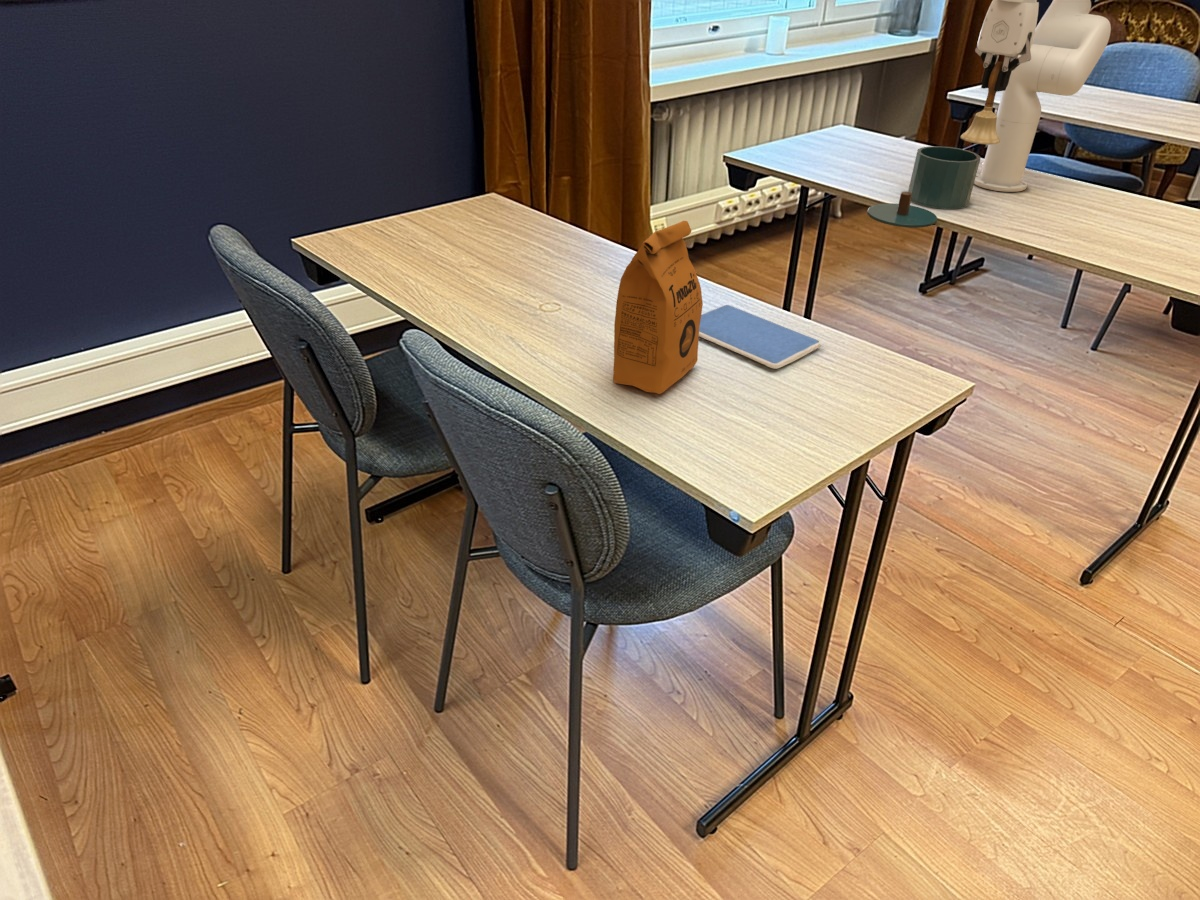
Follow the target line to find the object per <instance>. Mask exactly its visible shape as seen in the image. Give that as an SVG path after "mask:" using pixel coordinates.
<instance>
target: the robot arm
mask: <svg viewBox="0 0 1200 900" xmlns="http://www.w3.org/2000/svg"><path fill="white" fill-rule="evenodd" d="M1039 7H1040V2H1039V1H1038V0H992V1H991V3H990V5H989V7H988V9H987V12H986V14H985V17H984V20H983V23H982V26H981V28H980V32H979V36H978V40H977V44H976V47H975V49H974V52H975V53H976V54H977V55H978V56H979V57H980V58H981V61H982V63H983V64H982V65H983V68H984V71H983V75H982V79H981V86H980V88H981V89H984V90H985V89H988V82H989V77H990V74H991V72H992V70H993V68H994V66H995V65H996V62H997V61H999V57H1000V56H1004V58H1003V67H1002V71H999V73H998V77H997V81H996V84H995V88H994V90H995V91H997V92H996V93H999V92H1001V96H1000V100H999V104H998V108H997V111H996V115H997V121H996V132H997V135H998V137H999V138H1000V142H999V143H998V144H987V149H986V151H985V156H984V160H983V161H982V162H981V171H980V173H977V174H976V178H975V181H974V185H975V186H977V187H980V188H983V189H986V190H990V191H995V192H1005V193H1017V192H1022V191H1025V190H1026V189H1027V187H1028V182H1027V181H1026V180H1025V179H1023V177H1024V173H1025V170H1026V167H1027V164H1028V160H1029V156H1030V152H1031V150H1032V147H1033V143H1034V139H1035V136H1036V133H1037V130H1038V126H1039V123H1040V119H1041V115H1042V105H1041V101H1040V99H1039V96H1038V94H1037V93H1043V94H1048V95H1049V94H1050V95H1057V96H1066V97H1067V96H1069V97H1071V96H1074V95H1076V94H1077V93H1079V91H1080V90H1081V89H1082V87H1083V86H1084V85H1085V83H1086V82H1087V80H1088V78H1089V77H1090V75H1091V74H1092V71H1093V70H1094V68H1095V67H1096V65H1097V63H1098V62H1099V60H1100V58H1101V57H1102V55H1103V53H1104V52H1105V51H1106V48H1107V46H1108V43H1109V40H1110V37H1111V32H1112V26H1111V22H1110V20H1109V19H1108V18H1107V17H1105V16H1102V15H1098V14H1091V13H1090V12H1091V8H1092V1H1091V0H1052V2H1051V3H1050V5H1049V6H1048V8H1047V9H1046V11H1045V12H1044V14H1043V15H1042V17H1041V18H1040V20H1039V22H1038V17H1039ZM1037 22H1038V23H1037Z"/></svg>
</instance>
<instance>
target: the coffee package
mask: <svg viewBox="0 0 1200 900" xmlns="http://www.w3.org/2000/svg"><path fill="white" fill-rule="evenodd" d="M691 233H692V229H691V226H690V223H689V221H688V220H682V221H680V222H677V223H675V224H672V225H669V226H667V227H664V228H662V229H659V230H658V229H657V230H655V231H654V232H653V233H652V234H650V235H649V237H647V238H646V239H645V240H643V242H642V243H641V245H640V246H639V248H638V250H637V251H636V253H635V254H634V256H633V257H632V258H631V260H630V261H629V263H628V265H626V267H625V269H624V271H623V273H622V276H621V278H620V281H619V286H618V290H617V291H618V292H617V296H616V297H617V298H616V303H615V304H616V305H615V316H614V332H613V333H614V335H613V339H614V341H613V369H612V370H613V372H612V373H613V376H612V381H613V382H614V383H616V384H618V385H623V386H633V387H635V388H637V389H639V390H641V391H643V392H646V393H653V394H659V395H660V394H663V393H664V392H665V391H667V390H668V389H670V388H671V386H673V385H674V384H675V383H677V382H678V381H679V380H681V379H683V377H684V376H685V375H686V374H687V373H688V372H690V370H692V369H693V368H694V367H695V366H696V364H697V363H698V356H699V355H698V354H699V353H698V351H699V339H700V337H699V326H700V321H701V315H702V314H703V307H704V306H703V304H704V303H703V295H702V287H701V283H700V281H699V277H698V275H697V272H696V269H695V266H694V265H693V263H692V261H691V260H690V257H689V251H688V249H687V244H686V241H685V240H684V238H686V237H688V236H689V235H690V234H691Z"/></svg>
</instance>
